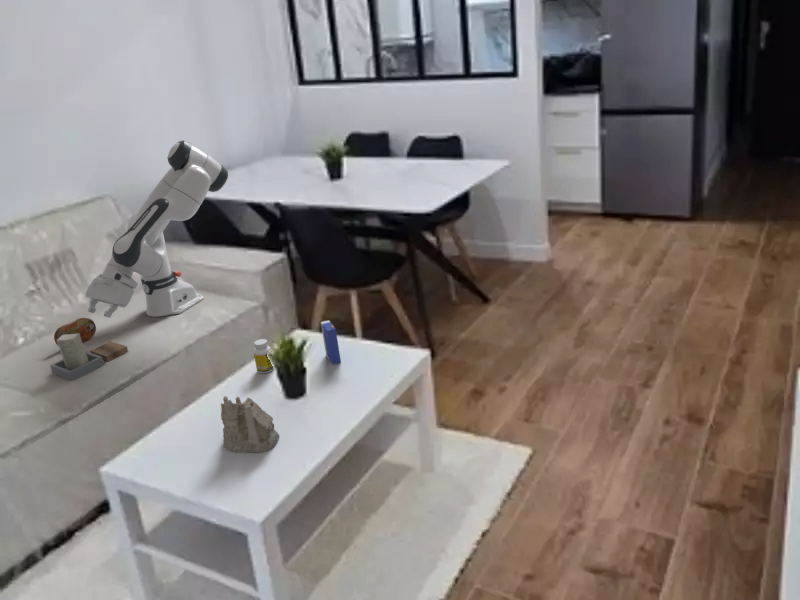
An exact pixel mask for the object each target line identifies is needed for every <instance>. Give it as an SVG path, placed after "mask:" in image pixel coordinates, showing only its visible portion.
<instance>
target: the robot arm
mask: <svg viewBox="0 0 800 600" xmlns="http://www.w3.org/2000/svg"><path fill="white" fill-rule="evenodd" d="M167 162H168V165H169V166H170V167H171V168H169V169H168V171H167V172H166V173H165V174H164V176H163V177H162V178H161V180H159V182H158V184H156V186H155V187H154V189H153V190H152V191H151V192H150V194H149V196H147V199H145V201H144V202H143V204H142V205H141V207H140V208H139V209H137V210H136V211H135V212H134V213H132V215H131V217H130V220H129V223H128V226H127V231H126V232H125V233H123V234H122V235H121V236H120V237H118V239H117V240H116V241H115V242H114V244H113V247H112V250H111V251H112V254H111V258H110V259H109V261H107V264H106V265H105V268H104V270H103V272H102V273H101V274H99V275H97V276H96V277H95V278H93V280H92V281H91V282H90V284H89V285H88V288H87V289H86V292H85V297H87V298H89V299H90V300H89V306H88V309H87V312H88V313H92V314H95V313H96V310H97V308H96V307H97V306H96V305H97V304H98V303H100V302H101V303H104V304H109V307H108V309H107V310H105V311H104V313H103V316H104V317H106V318H111V317H112V314H114V312H115V311H117V310H118V308H126V307H127V306H128V305H129V303H130V301H131V299H132V296H133V295H134V291H135V289H136V288H137V286H138V285H139V284H138V282H137V281H136V280H135V279H133V277H132V276H133V273H136V274H138V275H140V277H141V278H140V281H141V285H142V288H143V292H144V294H145V295H144V296H145V301H146V310H145V311H146V315H147V316H148V317H153V318H157V317H158V318H159V317H167V316H170V315H179V314H181V313H184V311H187V310H188V309H189V308H192V307H193V306H194V305H197V303H200V302H201V301H202V300H204V296H203V295H202V294H201V293H199V292H196V289H195V287H194V286H193V285H192V284H191V283H188V282H186V281H184V280H181V279H178V278H181V276H182V272H181V271H172V269H171V264H170V261H169V256H168V254H167V253H168V252H167V246H166V242H165V236H164V230H166V227H167V226H168V225H169V223H170V222H171V221H177V222H185V221H188V220H190V219H191V218H192V217H194V216H195V214H196V213H197V212H198V211H199V209H200V208H201V207H200V206H201V205H202V204H203V202H204V200H205V198H206V197H207V195H208V192H211V193H217V192H219V191H220V190H221V189H222V188H223V187H224V186H225V185H226V183H227V180H228V179H229V172H228V170H227V169H226V168H225V167H224V166H223V165H222V164H220V163H219V162H218V161H217V160H216V159H215V158H213V156H211V155H210V154H208V153H206V152H205V151H203V150H201V149H199V148H198V147H196V146H194V145H193V144H192V143H190V142H189V141H186V140H180V141H178V142H176V143H175V144H173V145H172V147H171V148H170V150H169V152H168V154H167Z"/></svg>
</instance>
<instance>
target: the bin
mask: <svg viewBox="0 0 800 600" xmlns="http://www.w3.org/2000/svg"><path fill="white" fill-rule="evenodd" d="M85 352H86V355H87V357H88V360H89V362H88V363H86V364H84V365H82V366H80V367H78V368H76V369H73V370H71V371H69V370H67V369H66V366H65V363H64V360H63V358H62V359H60V360H59V361H56V362H54V363H52V364H50V365H49V367H50V370H51V373H52V374H53V375H56V376H59V377H61V378H63V379H66V380H68V381H70V382H74V381H75V380H77V379H79V378H82V377H83V376H85V375H87V374H89V373H91V372H93V371H96V370H97V369H99V368H101V367H103V366H105V362H104V361H105V360H103V358H102V357H101V356H98V355H95V354H92V353H90V351H89V352H88V351H86V350H85Z"/></svg>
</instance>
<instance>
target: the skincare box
mask: <svg viewBox="0 0 800 600" xmlns="http://www.w3.org/2000/svg"><path fill="white" fill-rule="evenodd" d="M57 343H58V345H57V347H58V348H59V352H60V354H61V357H62V359H63V360H64V363H65V366H66V368H65V369H67V370H69V371H71V370H73V369H76V368H78V367H80V366H82V365H84V364H86V363H88V362H89V360H88V357H87V355H86V352H87V351H86V349H85V346H84V344H83V343H84V342H83V343H82V340H81V337H80V334H79V333H77V334H65V335H62V336H61V337H60V338H58V339H57ZM85 351H86V352H85Z"/></svg>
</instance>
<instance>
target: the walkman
mask: <svg viewBox="0 0 800 600" xmlns="http://www.w3.org/2000/svg"><path fill="white" fill-rule="evenodd" d="M320 325H321V331H322V338H323V343H324V351H325V356H326V357H327V356H328V357H327V358H328V360H329V361H330V363H331V364H332V365H336V364H337V365H338V364H339V363H342V361H341V360H342V359H341V355H340V349H339V348H340V347H339V343H338V334H337V329H336V327H335V326H334V324H333V323H332V322H331V321H330V319H329V320H323V321H321V322H320Z"/></svg>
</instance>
